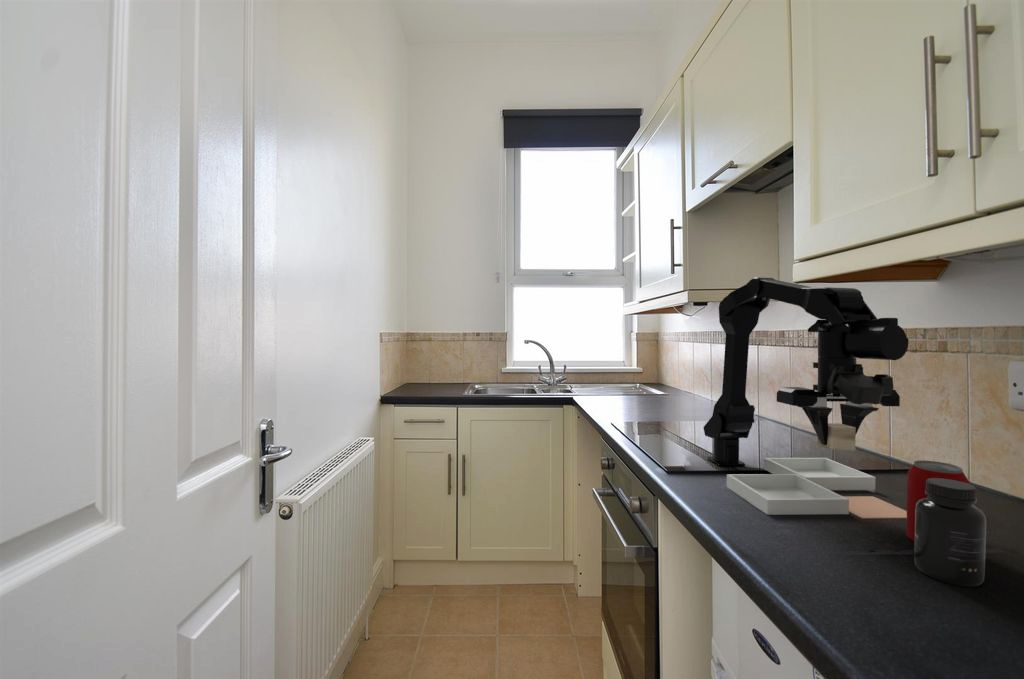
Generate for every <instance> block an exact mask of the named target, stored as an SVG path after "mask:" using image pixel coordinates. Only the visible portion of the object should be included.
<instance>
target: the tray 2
mask: <svg viewBox="0 0 1024 679" xmlns="http://www.w3.org/2000/svg"><path fill="white" fill-rule="evenodd" d="M763 470H764V471H767V472H768V473H769V474H797V475H799V476H801V477H803V478H806V479H808V480H810V481H812V482H814V483H816V484H818V485H820V486H822V487H824V488H826V489H828V490H831V491H869V492H870V493H876V476H873V475H871V474H868V473H866V472H863V471H860V470H857V469H856V468H853V467H850V466H848V465H845V464H842V463H840V462H837V461H835V460H833V459H829V458H828V457H764V458H763Z"/></svg>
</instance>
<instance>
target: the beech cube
mask: <svg viewBox="0 0 1024 679" xmlns="http://www.w3.org/2000/svg"><path fill="white" fill-rule="evenodd" d="M855 431H856V427H852V426H848V425H844V424H842V423H839V422H830V423H829V422H828V440H827V445H823V444H821V442H820V440H819V438H818V437H817V446H820V447H823V448H825V449H828V450H832V451H856V436H855Z"/></svg>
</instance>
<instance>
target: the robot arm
mask: <svg viewBox="0 0 1024 679" xmlns="http://www.w3.org/2000/svg"><path fill="white" fill-rule="evenodd" d="M771 300H773V301H777V302H782V303H786V304H790V305H794V306H797V307H800V308H802V309H803V310H804V312H806V313H807V314H809V315H811V316H813V317H815V318H817V320H816V321H815V323H814V324H812V325H810V326H809V327H808V328H807V332H808V333H817V362H816V361H815V362H812V367H813V369H817V384H814V383H813V384H812V389H811V388H806V387H801V386H780V387H779V389H778V390H777V391H776V402H777V403H780V404H785V405H789V406H794V407H798V408H802V410H803V412H804V413H805V415H806V417H807V418H808V420H809V422H810V424H811V425H812V426H811V427H813V430H814V432H815V434H816V435H817V439H818V438H819V440H820V442H821V444H823V445H827V440H828V423H829V415H830V414H831V412H832V411H833V408H832V407H829V406H827V405H828V404H827V403H828V402H831V403H832V402H834V403H835V402H840V403H839V408H840V418H841V424H844V425H848V426H852V427H856V431H855V437H856V435H857V433H858V431H859V429H860V427H861V425H862V423H863V422H864V419H865V418H866V417H867V416H869V415H870V414H871V413H873V412H878V410H879V409H880V408H879V407H875V406H874V405H881V406H882V407H901V396H900V394H899V393H898V392H897V391H896V389H894V380H893V377H892V376H891V375H889V374H885V373H883V374H882V373H881V374H880V373H879V374H874V376H873V375H865V374H864V367H863V366H862V365H863V364H861V363H857V359H862V360H863V359H864V360H879V361H880V360H881V361H884V360H885V361H898V360H900V359H902V358H903V357H904V356H905V354H907V351H908V348H909V344H910V343H909V338H908V336H907V334H906V332H905V330H904V329H903V328H902V327H901V326H900V325H899V318H897V317H879V318H878V317H877V316H876V315H875V313H874V312H873V311H872V309H871V308H870V306H868V305H867V303H866V302H865V300H864V297H863V295H862V291H860V290H859V289H857V288H855V287H854V288H853V287H827V286H824V287H819V286H817V287H816V286H815V287H813V286H808V285H804V284H803V285H802V284H798V283H793V282H790V281H783V280H778V279H775V278H772V277H754V278H751V279H750V280H749V281H747V283H746V284H744V285H743V286H740V287H738V288H737V289H735V290H733V291H731V292H729V294H728V295H726V296H725V297H724V298H722V300H721V301H720V302H719V303H718V317H719V320H718V321H719V324H720V325H721V328H722V330H723V332H724V333H725V342H724V360H723V373H722V374H723V376H722V388H721V389H722V391H721V394H720V396H719V398H717V401H716V402H715V403H714V405H713V411H712V416H711V417H710V418H709V420H708V421H707V422H706V423H705V424H704V426H703V432H704V436H705V437H708V438H710V439H711V438H712V456H707V457H706V459H707V458H708V459H710V460H711V461H710V460H709V461H710V462H712V461H713V462H715V463H717V464H719V465H745V466H746V463H745V462H743V461H741V460H740V439H748V438H749V434H750V432H751V430H752V427H753V424H754V423H755V411H756V409H755V408H756V407H755V406H754V404H750V402H749V401H748V399H747V397H746V392H747V376H748V364H749V362H748V360H749V350H750V349H749V347H750V337H751V336H750V335H751V334H752V332H753V331H754V329H755V328H756V327H757V325H758V323H759V319H760V314H761V313H762V312H763V311H764V310H765V309H766V308H767V307H768V306H769V305H770V301H771ZM843 402H844V403H843ZM708 459H707V460H708ZM713 462H712V463H713ZM715 463H714V464H715ZM717 464H716V465H717ZM719 465H718V466H719Z"/></svg>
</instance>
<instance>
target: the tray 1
mask: <svg viewBox="0 0 1024 679" xmlns="http://www.w3.org/2000/svg"><path fill="white" fill-rule="evenodd" d="M726 488H727V489H729V490H731V491H732V492H733V493H735V494H736V495H738V496H739V497H741V498H742V499H744V500H745V501H746V502H748V503H749V504H751V505H752V506H754V507H755V508H757V509H758V510H760V511H761V512H763V513H764V514H765V515H769V516H771V515H772V516H776V515H777V516H780V515H781V516H786V515H791V516H793V515H795V516H797V515H798V516H799V515H800V516H801V515H802V516H803V515H806V516H807V515H810V516H811V515H850V512H849V499H847V498H845V497H846V496H843V495H840V494H838V493H836V492H835V491H834V490H828V489H826V488H824V487H822V486H820V485H818V484H816V483H814V482H812V481H810V480H808V479H806V478H803V477H801V476H799V475H797V474H772V473H768V474H767V473H765V474H764V473H760V474H759V473H754V474H753V473H751V474H749V473H747V474H746V473H745V474H744V473H740V474H739V473H738V474H736V473H735V474H734V473H733V474H730V473H729V474H726Z"/></svg>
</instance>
